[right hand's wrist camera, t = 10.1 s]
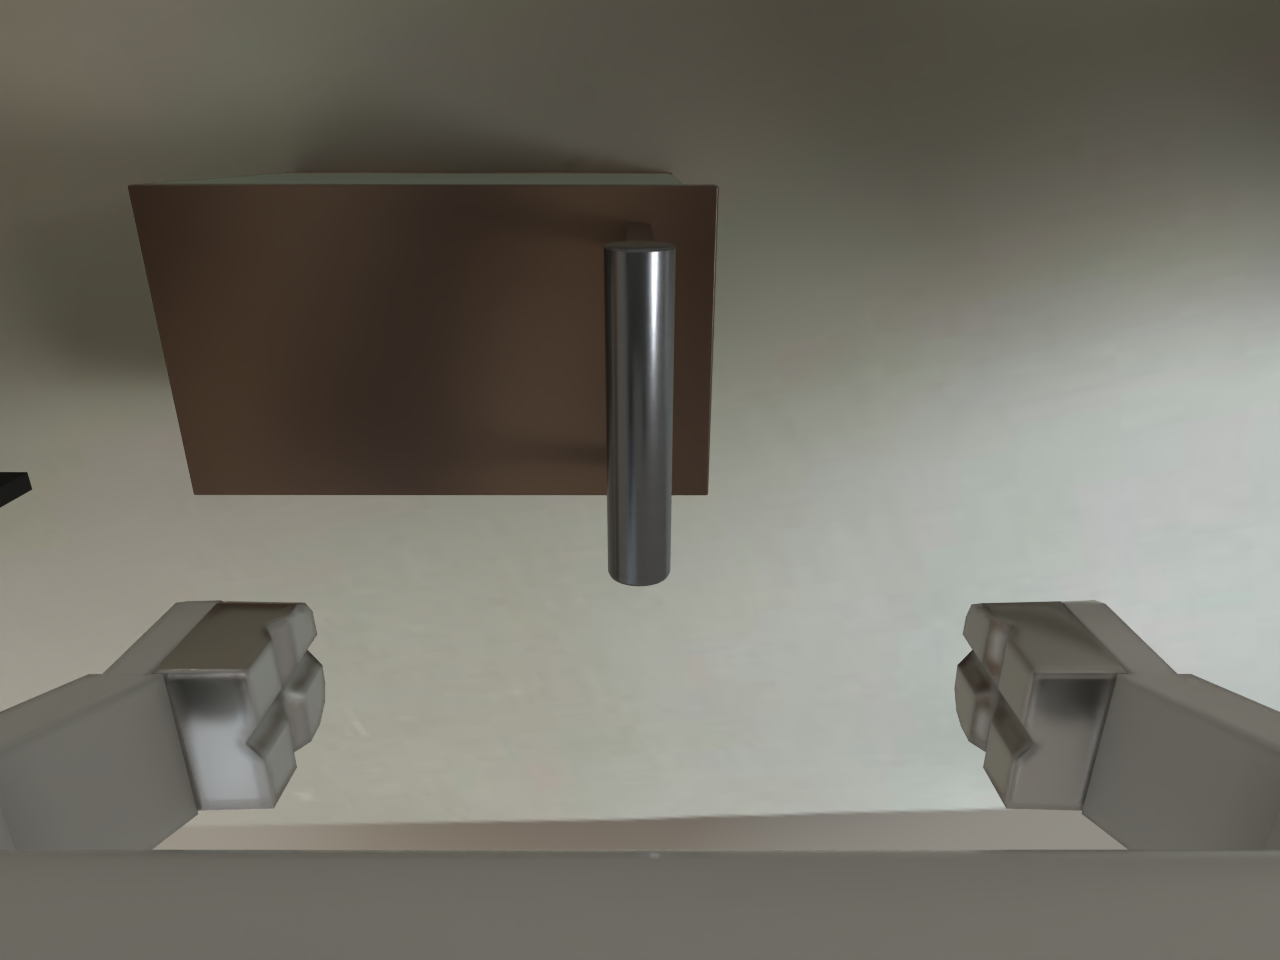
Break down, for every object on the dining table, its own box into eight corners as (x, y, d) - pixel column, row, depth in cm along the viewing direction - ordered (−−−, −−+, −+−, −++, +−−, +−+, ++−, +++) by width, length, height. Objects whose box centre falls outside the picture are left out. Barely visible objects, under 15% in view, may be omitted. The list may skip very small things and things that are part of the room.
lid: (716, 184, 24) (753, 202, 16) (705, 485, 28) (733, 619, 20) (144, 183, 24) (-95, 201, 16) (206, 485, 28) (35, 619, 20)
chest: (670, 172, 35) (684, 184, 24) (667, 392, 38) (678, 485, 28) (292, 171, 35) (144, 182, 24) (324, 392, 38) (207, 484, 28)
